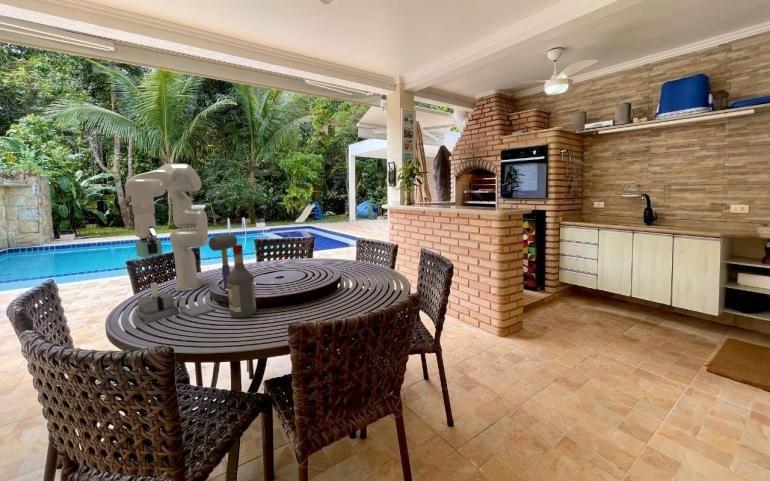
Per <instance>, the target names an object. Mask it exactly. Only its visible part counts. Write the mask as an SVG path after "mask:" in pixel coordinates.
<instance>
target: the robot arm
mask: <svg viewBox="0 0 770 481" xmlns="http://www.w3.org/2000/svg"><path fill="white" fill-rule="evenodd" d="M201 188H202V180H201V178H200V176H199V175H198V173H197V172H196V170H195V169H194V168H193V167H192V166H191V165H189V164H188V163H166V164H163V165H161V166H160V167H158V168H157V169H155V170H151V171H147V172H144V173H139V174H136V175H132V176H131V177H129V178H128V179H127V180H126V182H125V184H124V191H125V193H126V194H127V195H128V196H130V200H131V201H130V202H131V206H132V208H131V209H132V213H133V214H132V215H133V216H134V220H133V221H134V231H135V232H134V233H135V237H136V238H139V241H143V240H147V241H148V252H149V254H155V253H158V249H157V241H156V240H158V239H157V238H158V237H157V236H158V231H157V230H158V229H157V223H156V219H155V214H156V210H155V209H156V208H155V202H154V197H161V196H163V195H164V194H165V193H166V191H167V192H168V194H169V195H170V197H171V200H172V217H173V219H172V220H173V224H174V226H175V227H177V228H186V229H177V230H176V229H175V230H173V231H172V232H170V235H169V242H170V244H171V247H172V251H173V256H174V265H175V273H176V274H175V275H176V281H177V285H176V286H174V290H175V291H177V292H187V291H193V290H197V289H200V288H201V287H202V282H206V281H208V278H207V277H198V272H197V264H196V263H197V261H196V256H195V253H194V251H193V250H192V249H191V248H203V247H206V246H207V244H208V243H209V235H208V231H209V230H208V228H209V227H208V226H209V225H208V216H207V213H206V210H204V209H202V208H192V199H191V198H190V196H189V195H187V194H186V193H185V192H197V191H200V190H201ZM187 228H188V229H187ZM189 228H190V229H189ZM191 228H192V229H191ZM193 228H194V229H193Z"/></svg>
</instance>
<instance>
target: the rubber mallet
mask: <svg viewBox="0 0 770 481" xmlns="http://www.w3.org/2000/svg"><path fill="white" fill-rule="evenodd" d="M237 243H238V239H237V237H236V235H235V234H233V233H227V234H225V233H224V234H221V235H215V236H212V237H210V238H209V239H208V247H209V248H210V249H211V250H212V251H214V252H216V251H217V252H218V251H221V259H222V266H221V275H222V278H223V279H222V280H223V290H224V289H227V288H228V287H227V277H228V275H229V274H230V273H231V268H230V265H229V258H228V250H227V249H231V248H232V249H233V245H238V244H237Z"/></svg>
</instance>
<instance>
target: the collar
mask: <svg viewBox="0 0 770 481" xmlns="http://www.w3.org/2000/svg"><path fill="white" fill-rule="evenodd" d="M156 241H157V249H158V253H155V254H149V252H148V241H147V240H143V241H140V240H136V241H135V249H136V256H137V257H141V258H143V259H145V258H151V257H156V256H163V248H162V247H163V246H162V240H160V239H157V240H156Z"/></svg>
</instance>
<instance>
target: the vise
mask: <svg viewBox="0 0 770 481" xmlns="http://www.w3.org/2000/svg"><path fill="white" fill-rule="evenodd" d="M150 292H151V296H150V295H146V296H142V297H138V298H137V305H138V308H137V309H135V314H136V318H137V317H138V318H139V319H141V320H142V319H143V321H144V322H146V323H151V322H154V321H158V320H161V319H164V318H168V317H171V316H175V315H179V313H180V312H179V306H177V305H176V304H175V301H180V300H186V299H187V298H186V297H185V296H182V295H179V294H177V296H175V297H174V295H173V294H171V293H168V292H165V291H162V292H159V289H158V283H157V282H152V283H150Z"/></svg>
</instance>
